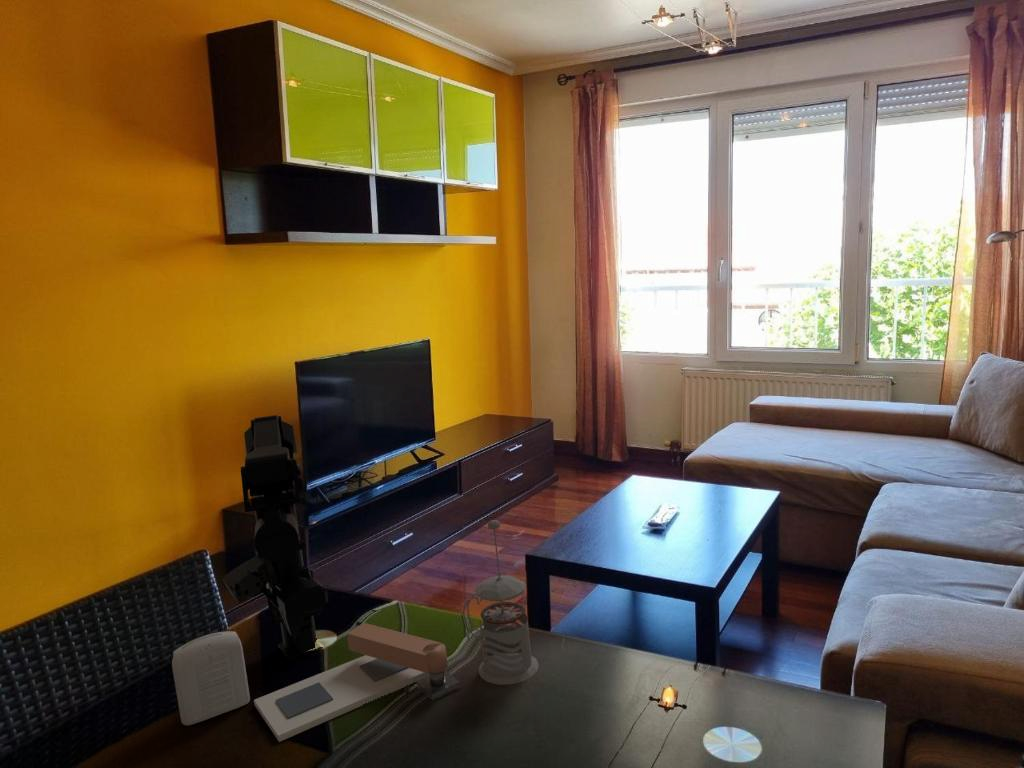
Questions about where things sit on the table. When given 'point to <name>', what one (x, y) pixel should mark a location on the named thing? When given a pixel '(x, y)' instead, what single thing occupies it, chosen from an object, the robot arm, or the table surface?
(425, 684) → the dark plate
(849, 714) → the table surface
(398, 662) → the cable arm
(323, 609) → the robot arm
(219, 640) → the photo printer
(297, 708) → the panel
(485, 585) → the french press
